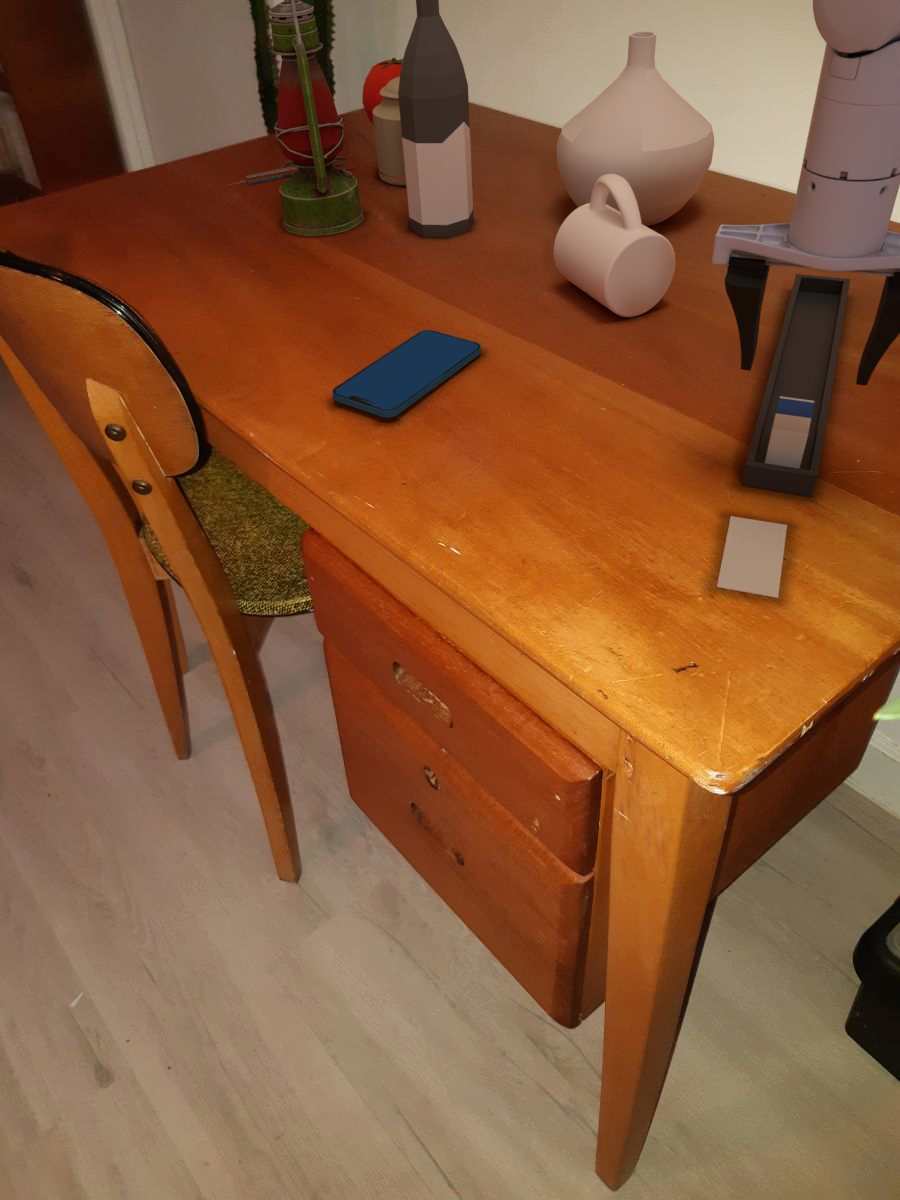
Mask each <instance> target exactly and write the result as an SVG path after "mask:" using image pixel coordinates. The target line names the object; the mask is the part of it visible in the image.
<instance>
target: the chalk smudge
mask: <svg viewBox="0 0 900 1200" xmlns="http://www.w3.org/2000/svg"><path fill="white" fill-rule="evenodd" d="M787 530H788V524H784V523H783V524H782V523H777V522H771V521H765V520H759V519H752V518H745V517H740V516H739V517H738V516H733V515H731V516H730V518H729V522H728V528H727V533H726V538H725V544H724V548H723V555H722V558H721V564H720V567H719V568H720V569H719V572H718V579H717V584H716V588H718V589H722V590H723V589H724V590H730V591H734V592H740V593H745V594H752V595H757V596H761V597H762V596H763V597H769V598H774V599H779V595H780V594H779V593H780V585H781V579H782V578H781V577H782V570H783V562H784V555H785V547H786V546H785V545H786V539H787V538H786V537H787Z"/></svg>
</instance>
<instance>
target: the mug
mask: <svg viewBox="0 0 900 1200" xmlns="http://www.w3.org/2000/svg"><path fill="white" fill-rule="evenodd" d="M609 191H610V192H611V194H612V195H613V197H614V199H615V201H616V203H617V205H618V207H619V210H620V212H619V211H617V210H616V209H614V208H612V207H610V206H608V205H606V200H607V196H608V193H609ZM556 233H557V234H556V236H555V239H554V242H553V253H552V254H553V262H554V264H555V267H556V269H557V272H558V273H559V275H560V276H562V277H563V278H564V279H565V280H566V281H568V282H570V283H571V284H572V285H574V286H575V287H577V288H578V289H580V290H581V291H583V293H585V294H587V295H588V296H590V297H591V298H592V299H594V300H595V301H597V302H598V303H599V304H601V305H603V306H604V307H606V309H608V310H609V311H611V312H612V313H614V314H615V315H617V316H619V317H623V318H633V317H638V316H640V315H644V314H645V313H647V312H648V311H650V310H651V309H653V308H654V307H655V306H656V305H657V304H658V303H659V302H660V301H661V300H662V299H663V297H664V296H665V294H666V293H667V292H668V289H669V288H670V286H671V284H672V282H673V278H674V275H675V271H676V254H675V250H674V247H673V245H672V243H671V241H670V240H669V239H668V238H666V236H664V235H662V234H660V233H658V232H657V231H655V230H654V229H651V228H650V227H649V226H644V225H643V224H642V223H641V217H640V212H639V208H638V204H637V201H636V198H635V195H634V193H633V190H632V188H631V186H630V185H629V183H628V182H627V181H626V180H625V179H624V178H623V177H621V176H619V175H616V174H606V175H603V176H601V177H600V178H599V179H598V180H597V181H596V182H595V184H594V187H593V190H592V194H591V201H590V203H588V204H585V205H582V206H580V207H579V208H578V207H577V208H575V209H574V210H573V211H572V212H570V214H569V215H568V216H567V217H566V218H565V219H564V220H563V222H562V223H561V225H560V226H559V229H558V231H557V232H556Z"/></svg>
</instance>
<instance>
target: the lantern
mask: <svg viewBox="0 0 900 1200" xmlns="http://www.w3.org/2000/svg"><path fill="white" fill-rule="evenodd" d="M314 10H315V9H314V6H313V5H312V4H309V3H306V2H305V1H301V0H283V1H281V2H279V3H278V4H276V5H275V6H273V7H271V8H270V9H269V10H268V16H270V17H271V19H270V27H271V39H272V45H273V46H272V48H271V53H272V54H273V55H277V56H280V58H281V63H280V64H281V65H280V71H279V78H278V89H277V90H278V91H277V120H276V122H275V125H274V127H273V128H274V130H275V133H276V135H275V140H277V141H278V146H279V149H280V151H281V154H282V155H283V156H284V157H285V158H286V159H288V160H289V161H293V163H294V165H293V166H296V167H297V168H298V170H299V171H298V172H296V173H295V174H294V175H293V176H292V177H289V178H287V179H286V180H285V181H284V182H283V183H281V185H280V186H279V190H278V194H279V198H280V203H281V209H282V215H283V218H282V228H284V229H285V230H286V231H287V232H288V233H292V234H295V235H298V236H309V237H319V236H320V237H321V236H330V235H335V234H338V233H339V234H340V233H343V232H346V231H349V230H351V229H354V228H355V227H358V225H360V224H361V223H362V222H363V221H364V220H365V219H364V217H365V213H364V208H363V207H361V200H360V199H361V198H360V192H359V185H358V184H359V183H358V179H357V178H356V177H355V176H353V173H352V172H350V171H349V170H347V169H346V168H343V167H340V169H339V168H335V167H333V164H334V162H336V161H335V157H338V156H339V154H340V153H341V152H342V151H343V146H344V130H345V129H346V128H345V125H344V124H343V118H342V117H341V116H339V114H338V111H337V107H336V104H335V101H334V98H333V94H332V92H331V89H330V86H329V84H328V81H327V79H326V76H325V73H324V71H323V69H322V67H321V64H320V63H319V61H318V58H317V57H316V52H318V51H320V50H322V49H323V43H322V42H320V38H319V31H318V27H317V24H316V16H315V15H314V14H313V12H314ZM284 217H285V218H284ZM287 221H288V222H290V223H288V222H287ZM291 223H293V224H291ZM294 224H297V225H301V226H297V225H294ZM306 226H311V227H306Z"/></svg>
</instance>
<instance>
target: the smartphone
mask: <svg viewBox="0 0 900 1200" xmlns="http://www.w3.org/2000/svg"><path fill="white" fill-rule="evenodd" d="M481 345H482V344H480V343H479V342H476V341H473V340H469V339H466V338H462V337H459V336H455V335H451V334H447V333H444V332H440V331H436V330H433V329H424V330H421V331H419V332H417V333H415V334H414V335H412V336H411V337H409V338H408V339H407V340H404V342H402V343H400V344H399V345H397V346H396V347H394V348H393V349H391V350H389V352H387V353H385V354H383V355H382V356H381V357H379V358H377V359H376V360H374V361H373V362H371V363H370V364H368V365H367V366H366V367H363V368H362V369H360V370H359V371H358V372H356V373H354V374H353V375H351V376H350V377H348V378H347V379H345V380H344V381H342V382H341V383H339V384H338V385H337V386H335V387H334V388H332V389H331V393H332V399H333V401H335V402H337V403H340V404H342V405H346V406H349V407H350V408H355V409H357V410H360V411H364V412H366V413H368V414H373V415H375V416H378V417H381V418H385V419H386V418H387V419H388V418H394V417H396V416H398V415H399V414H401V413H402V412H403V411H405V410H406V409H408V408H409V407H410V406H412V405H413V404H415V403H416V402H417V401H419V400H420V399H421V398H423V397H424V396H426V395H427V394H428V393H430V392H431V391H432V390H435V388H436V387H438V386H440V385H441V384H442V383H443V382H445V381H446V380H447V379H449V378H450V377H451V376H453V375H455V374H456V373H457V372H458V371H460V370H461V369H462V368H464V367H465V366H467V365H468V364H469V363H471V362H472V361H473V360H475V359H477V358H478V357H479V356H480V355H481V354H482V346H481Z"/></svg>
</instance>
